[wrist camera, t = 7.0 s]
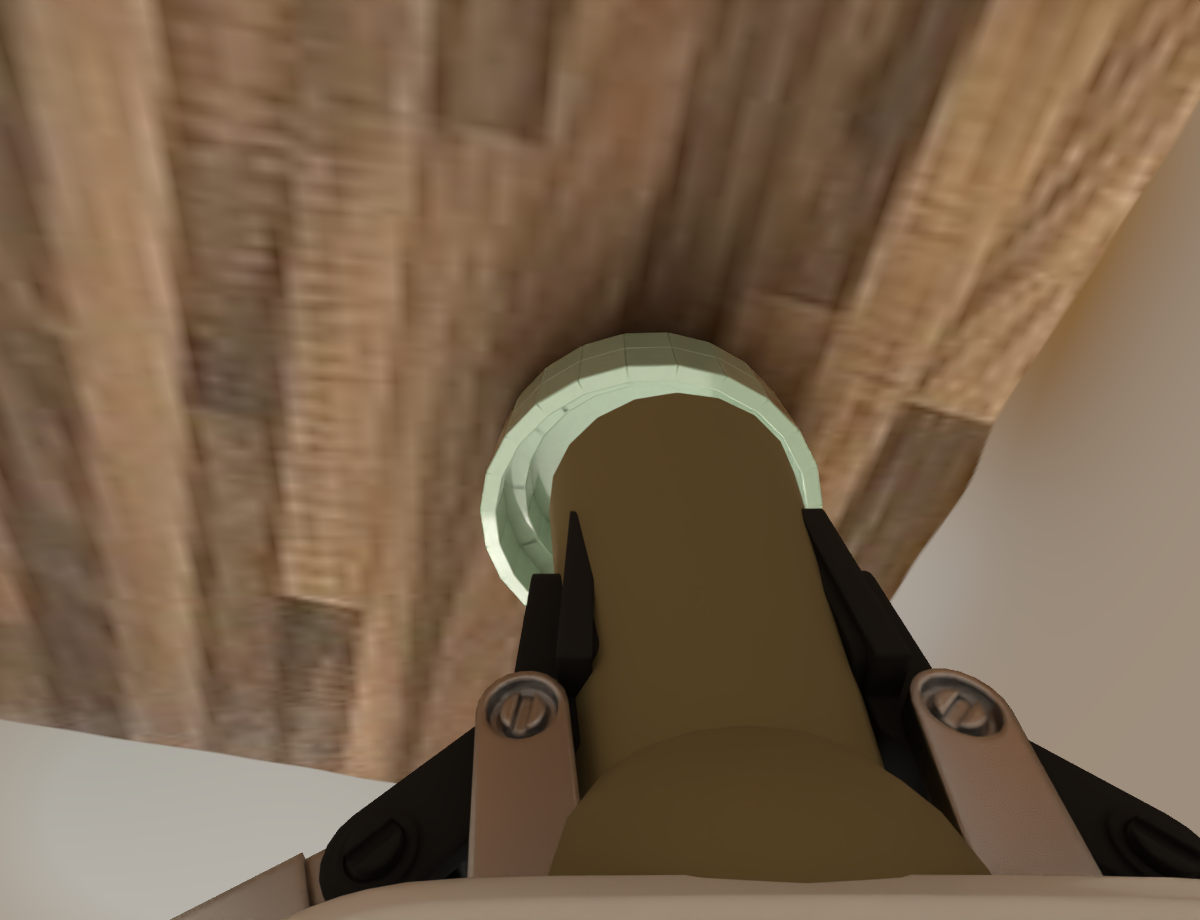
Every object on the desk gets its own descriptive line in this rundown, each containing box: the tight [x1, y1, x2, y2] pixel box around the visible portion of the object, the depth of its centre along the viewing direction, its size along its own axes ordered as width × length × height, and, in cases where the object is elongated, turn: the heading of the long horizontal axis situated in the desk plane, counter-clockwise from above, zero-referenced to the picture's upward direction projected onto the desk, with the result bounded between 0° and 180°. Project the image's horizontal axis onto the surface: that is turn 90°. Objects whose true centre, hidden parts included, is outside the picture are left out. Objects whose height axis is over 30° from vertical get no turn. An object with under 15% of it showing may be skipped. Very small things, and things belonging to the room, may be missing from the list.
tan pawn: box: [548, 393, 991, 883], centre depth 9 cm, size 6×6×11 cm
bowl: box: [480, 332, 823, 606], centre depth 31 cm, size 17×17×6 cm
